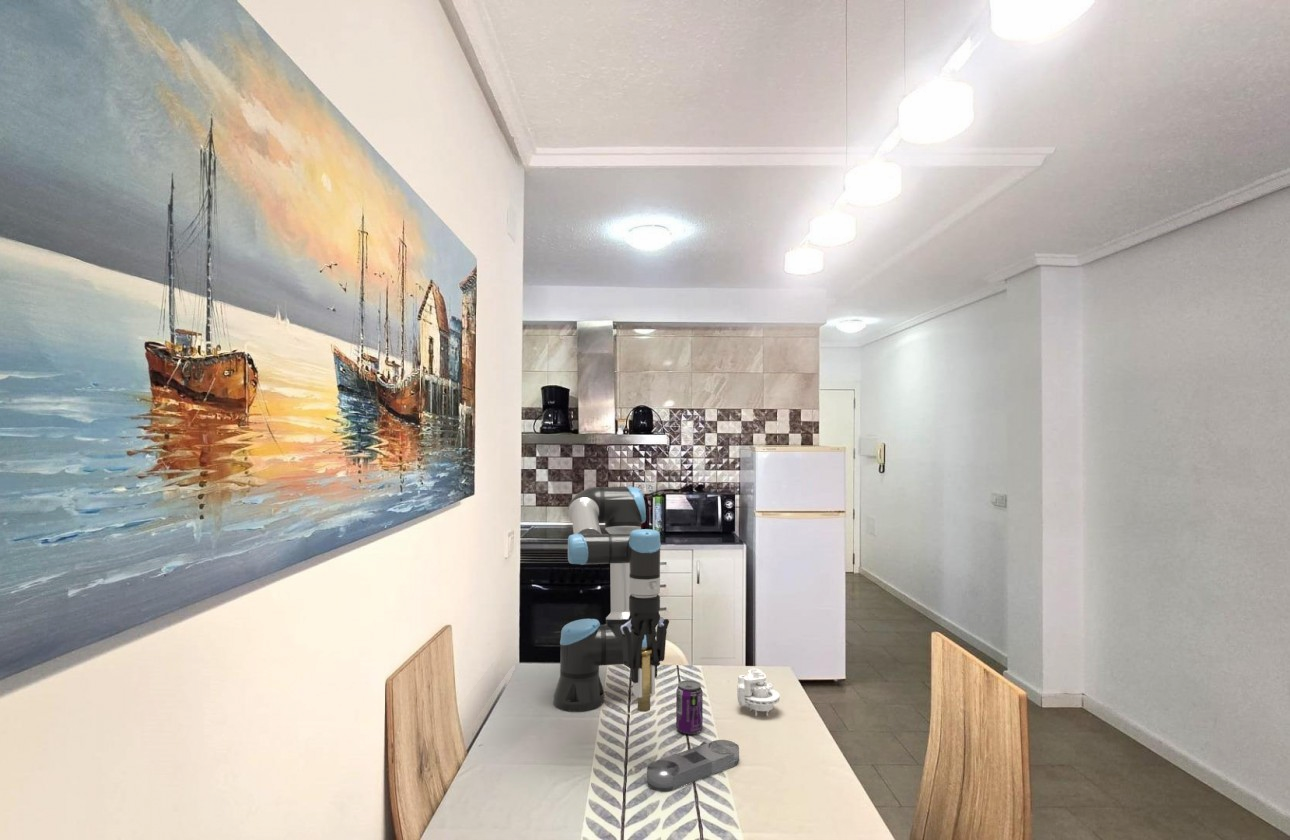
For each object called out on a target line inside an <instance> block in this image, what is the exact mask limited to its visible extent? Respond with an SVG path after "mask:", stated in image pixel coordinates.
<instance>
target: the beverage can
mask: <svg viewBox="0 0 1290 840" xmlns="http://www.w3.org/2000/svg"><path fill="white" fill-rule="evenodd" d="M701 686H702V685H701V683H700V682H699V681H696V680H691V679H690V680H688V679H687V680H681V681H679V682H678V683H677V688H676V692H675V693H676V695H675V696H676V698H675V699H676V700H675V701H676V703H675V704H676V707H675V711H676V713H675V715H676V716H675V717H676V720H675V728H676V729H677V731H679V732H681V733H682V732H683V733H682V734H685V733H686V734H685V735H695V734H698V733H699V732H701V731H702V730H703V727H704V724H703V722H704V721H703V719H704V718H703V713H704V712H703V708H704V706H703V702H704V701H703V697H704V696H703V693H704V692H703V690H702V687H701ZM694 733H695V734H694Z"/></svg>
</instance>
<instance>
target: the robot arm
mask: <svg viewBox="0 0 1290 840" xmlns="http://www.w3.org/2000/svg"><path fill="white" fill-rule="evenodd" d="M645 502H646V501H645V499H644V494H643V492H642V490H641V489H640V488H639V487H633V486H593V487H589V488H586V489H584V490H582V491H580V492H578V493H577V494H576V495H575V496H574V497H572V498H571V500H570V502H569V503H568V506H567V516H568V518H569V520H570V522H571V524H572V531H573V534H570V535H569V536H568V538H567V561H568V562H569V564H571V565H581V566H583V565H599V564H600V565H604V564H605V565H606V564H610V565H609V566H610V569H609V570H610V572H609V573H610V613H609V614H608V615H607V616H606V617H605V623H604V624H601V623H600V621H599V620H598V619H596V618H582V619H576V620H573V621H570V622H568V623H567V624H565V625H564V626H563V627H562V628H561V631H560V641H559V644H560V663H559V666H560V667H559V669H560V670H559V677H558V680H557V681H558V682H557V684H556V687H555V691H554V694H553V705H554V706H555V707H556V708H557V709H559V710H563V711H565V712H574V713H575V712H579V713H581V712H587V711H592V710H595V709H598V708H599V707H602V705H604V703H605V691H604V687H603V685H602V681H601V680H602V679H601V677H600V673H599V672H600V670H599V669H600V666H615V665H617V666H618V665H619V666H620V665H623V666H625V667H627V668H629V669H630V681H631V682H632V683H633V685H632V687H633V688H632V689H633V690H632V691H633V693H632V695H634V696H635V697H637V698H638V697H639V698H641V697H642V669H641V668H639V666H640V658H641V650H642V647H648V648H651V649H652V654H650V695H651V696H652V695H656V694H655V693H656V686H655V685H656V684H655V683H656V679H657V677H658V667H659V666H661V662H664V661H665V655H666V643H667V631H668V630H667V629H668V626H669V623H670V620H669V619H668V618H665V617H662V616H661V614H660V610H661V596H660V595H659V594H660V593H661V547H662V544H661V534H660V532H659V530H656V529H650V528H645V529H643V528H642V524H643V523H645V522H646V520H647V515H646V514H647V513H646V511H647V510H646V509H647V508H646V503H645ZM600 524H604V525H605V526H604V530H605V531H606V532H607V533H602V530H601V526H600Z"/></svg>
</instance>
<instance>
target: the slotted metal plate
mask: <svg viewBox="0 0 1290 840" xmlns="http://www.w3.org/2000/svg"><path fill="white" fill-rule="evenodd" d="M739 763H740V746H739V745H738V744H737V743H736V742H733V741H730V740H727V739H715V740H712V741H709V742H706V744H703V745H700V744H699V745H697V746H695V747H693V748H692V747H691V748H690V749H687V750H683V751H681V752H677V753H674V754H672V755H669V756H666V757H663V758H660V759H658V760H655V761H651V762H649V764H648V765H647V766H646V785H647V786H648V787H649V788H650V789H652V790H654V791H656V792H662V793H663V792H665V793H666V792H671V791H674V790H676V789H680V788H682V787H685V786H687V785H690V784H692V783H695V782H697V780H698V781H700V780H702V779H701V778H703V779H705V778H707V776H708V777H710V776H712V775H716V774H718V773H720V772H723V771H725V770H728V769H731V768H734V767H736V766H737V765H738V764H739ZM715 773H716V774H715ZM699 779H700V780H699ZM694 781H695V782H694ZM689 783H690V784H689ZM686 784H687V785H686ZM684 785H685V786H684ZM681 786H682V787H681Z"/></svg>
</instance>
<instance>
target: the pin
mask: <svg viewBox="0 0 1290 840" xmlns="http://www.w3.org/2000/svg"><path fill="white" fill-rule="evenodd" d="M650 654H652V649H651V648H648V647H642V650H641V658H640V666H639V668H641V669H642V697H641V698H639V697H637V711H639V712H641V713H647V712H650V711H651V694H650Z"/></svg>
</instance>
